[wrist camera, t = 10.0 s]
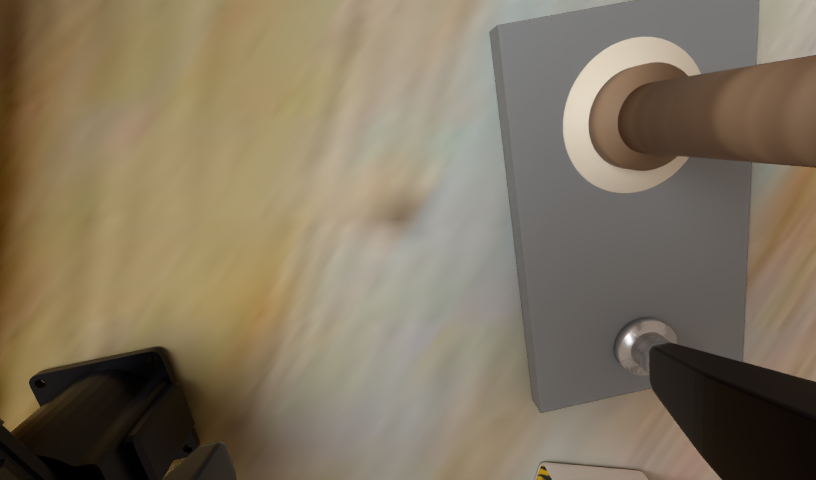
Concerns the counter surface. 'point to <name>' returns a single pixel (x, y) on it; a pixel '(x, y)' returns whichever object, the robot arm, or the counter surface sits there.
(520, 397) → the counter surface
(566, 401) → the board
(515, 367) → the counter surface
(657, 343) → the steel pin
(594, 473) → the medicine bottle
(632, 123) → the walnut peg
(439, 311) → the counter surface
